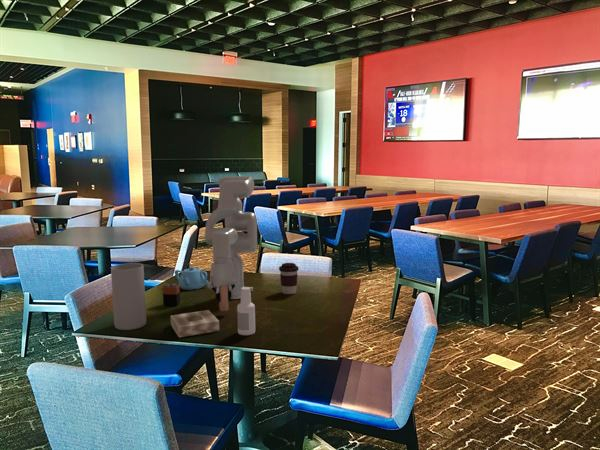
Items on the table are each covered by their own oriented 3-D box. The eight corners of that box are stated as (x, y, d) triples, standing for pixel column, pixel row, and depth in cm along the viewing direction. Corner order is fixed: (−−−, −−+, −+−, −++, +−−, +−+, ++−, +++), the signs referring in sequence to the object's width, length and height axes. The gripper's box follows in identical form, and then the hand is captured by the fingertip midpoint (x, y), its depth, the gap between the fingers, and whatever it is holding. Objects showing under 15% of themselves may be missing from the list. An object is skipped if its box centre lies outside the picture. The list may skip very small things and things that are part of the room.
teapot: (170, 287, 258) (169, 267, 256) (198, 281, 269) (197, 262, 268) (183, 292, 246) (183, 271, 245) (212, 287, 258) (212, 266, 256)
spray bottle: (238, 329, 191) (237, 286, 188) (255, 329, 191) (254, 285, 189) (237, 336, 184) (236, 290, 181) (255, 335, 184) (254, 290, 182)
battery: (176, 306, 223) (175, 285, 222) (163, 305, 224) (162, 285, 223) (180, 303, 227) (179, 283, 226) (167, 303, 228) (166, 282, 227)
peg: (227, 307, 211) (226, 281, 209) (229, 310, 208) (228, 283, 206) (218, 308, 210) (217, 282, 208) (220, 311, 206) (219, 284, 204)
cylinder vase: (135, 318, 206) (132, 262, 202) (152, 324, 198) (149, 265, 195) (108, 326, 196) (104, 267, 193) (125, 333, 188) (121, 271, 185)
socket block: (208, 319, 204) (208, 310, 204) (219, 330, 190) (219, 321, 189) (170, 324, 197) (170, 315, 197) (178, 337, 183) (178, 327, 182)
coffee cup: (299, 290, 249) (299, 262, 247) (297, 295, 239) (297, 266, 237) (280, 289, 250) (280, 261, 248) (278, 295, 240) (277, 265, 238)
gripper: (237, 255, 212) (239, 295, 215) (200, 260, 205) (202, 300, 208) (243, 259, 205) (244, 300, 208) (205, 263, 198) (207, 305, 201)
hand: (223, 300), depth 208 cm, fingers closed on peg, 4 cm apart
